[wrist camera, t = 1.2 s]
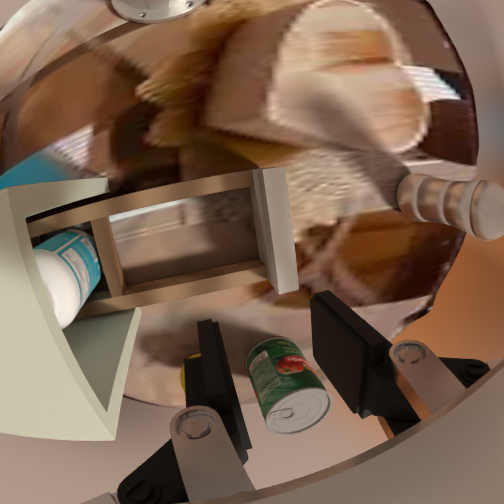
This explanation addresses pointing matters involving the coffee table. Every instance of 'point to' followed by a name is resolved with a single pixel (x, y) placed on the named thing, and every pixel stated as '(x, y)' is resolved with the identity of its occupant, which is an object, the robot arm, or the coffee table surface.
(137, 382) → the coffee table surface
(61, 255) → the pill bottle
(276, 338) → the canned tomato
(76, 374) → the tunnel
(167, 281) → the wooden compartment tray
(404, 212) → the plastic bottle
